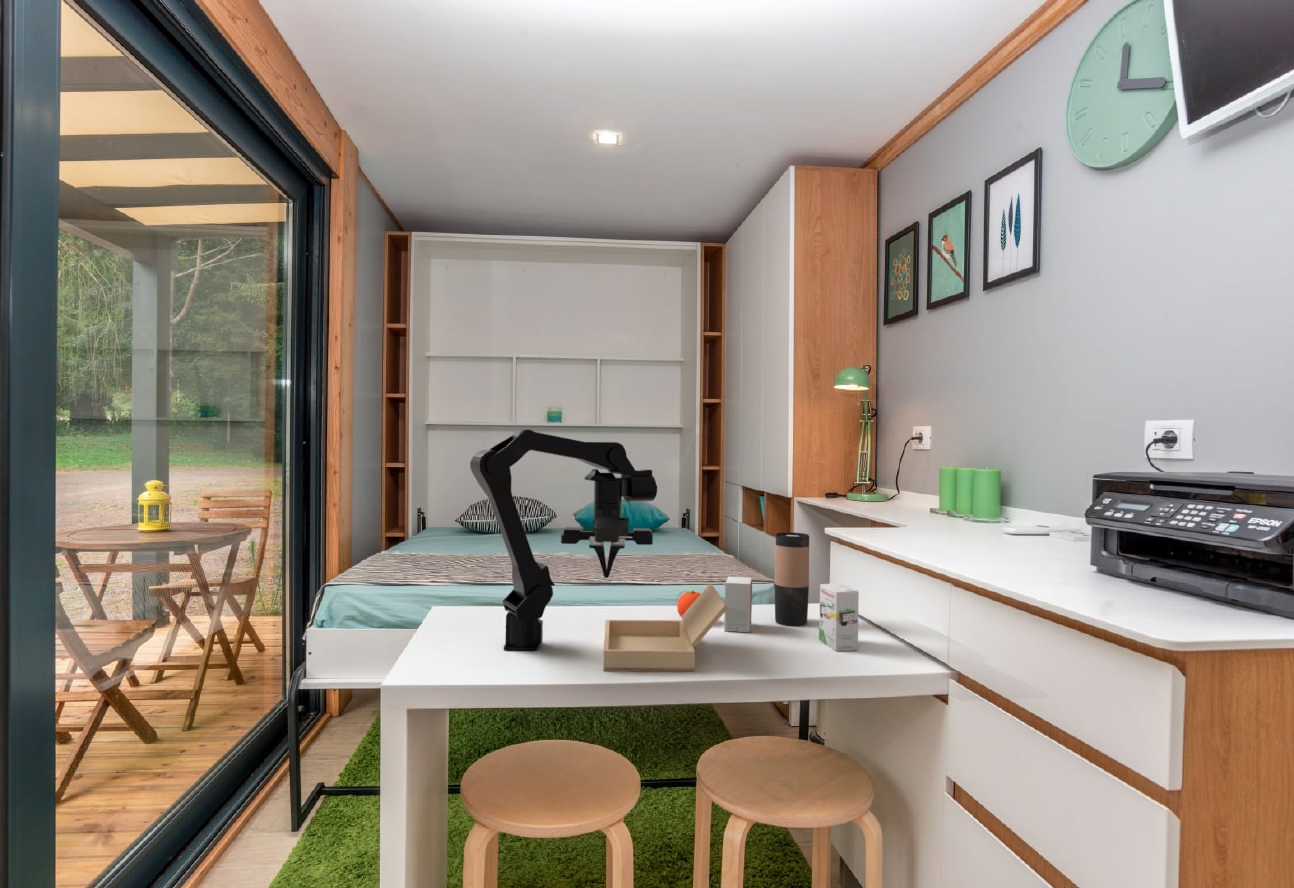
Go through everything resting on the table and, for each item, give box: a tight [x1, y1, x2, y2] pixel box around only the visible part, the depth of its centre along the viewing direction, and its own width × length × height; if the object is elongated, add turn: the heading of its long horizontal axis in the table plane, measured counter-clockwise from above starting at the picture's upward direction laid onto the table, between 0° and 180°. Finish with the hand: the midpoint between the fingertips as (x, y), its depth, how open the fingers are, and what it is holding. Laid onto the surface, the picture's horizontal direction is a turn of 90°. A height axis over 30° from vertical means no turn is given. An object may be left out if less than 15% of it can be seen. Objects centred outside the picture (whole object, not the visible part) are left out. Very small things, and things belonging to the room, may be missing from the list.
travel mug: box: [774, 531, 810, 627], centre depth 159 cm, size 8×8×20 cm
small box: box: [723, 576, 753, 633], centre depth 153 cm, size 8×6×10 cm
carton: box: [602, 619, 696, 672], centre depth 134 cm, size 16×22×4 cm
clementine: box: [676, 590, 701, 619], centre depth 158 cm, size 8×7×7 cm
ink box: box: [818, 582, 860, 652], centre depth 141 cm, size 8×5×12 cm, turn 9°
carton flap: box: [680, 583, 728, 647], centre depth 134 cm, size 1×20×9 cm
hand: (606, 577), depth 145 cm, fingers closed
